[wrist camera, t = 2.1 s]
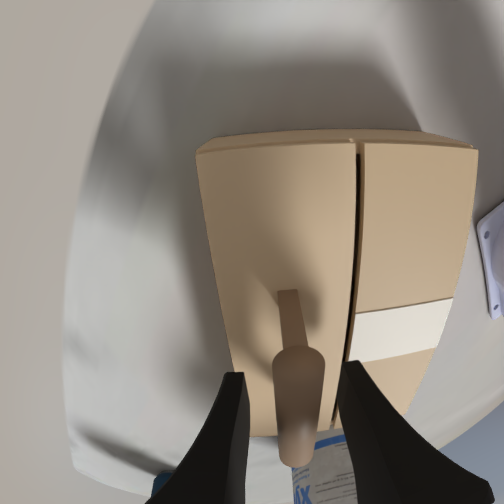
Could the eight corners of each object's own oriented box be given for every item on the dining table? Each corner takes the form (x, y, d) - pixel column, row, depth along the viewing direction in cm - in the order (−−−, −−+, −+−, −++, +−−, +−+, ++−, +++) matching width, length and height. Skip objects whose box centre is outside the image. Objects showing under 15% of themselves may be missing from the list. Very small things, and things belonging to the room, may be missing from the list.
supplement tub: (277, 432, 23) (283, 581, 10) (381, 404, 22) (420, 553, 8) (303, 464, 27) (311, 575, 14) (384, 442, 26) (409, 553, 13)
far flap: (250, 431, 16) (249, 498, 12) (197, 153, 9) (147, 196, 5) (328, 424, 16) (338, 489, 12) (351, 141, 9) (428, 176, 4)
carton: (422, 131, 12) (480, 147, 8) (386, 367, 19) (405, 415, 15) (212, 137, 12) (192, 152, 8) (249, 384, 20) (249, 438, 16)
